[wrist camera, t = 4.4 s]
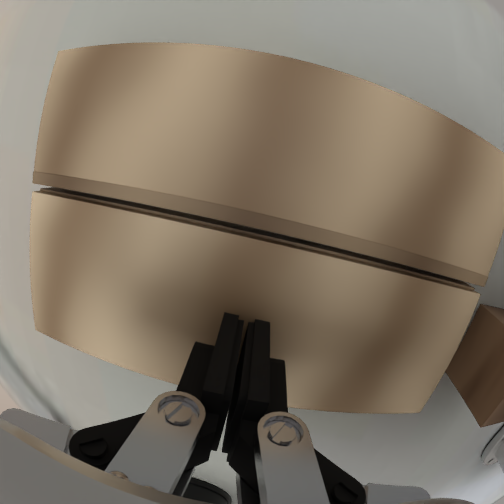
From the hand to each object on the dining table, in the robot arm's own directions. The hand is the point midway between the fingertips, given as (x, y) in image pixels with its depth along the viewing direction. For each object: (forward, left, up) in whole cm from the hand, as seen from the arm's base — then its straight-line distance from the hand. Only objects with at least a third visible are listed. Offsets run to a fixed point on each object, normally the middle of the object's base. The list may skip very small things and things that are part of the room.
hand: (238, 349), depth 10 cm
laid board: (0, -7, -2) cm, 8 cm away
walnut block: (-14, -1, -2) cm, 15 cm away
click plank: (0, -1, -2) cm, 2 cm away
